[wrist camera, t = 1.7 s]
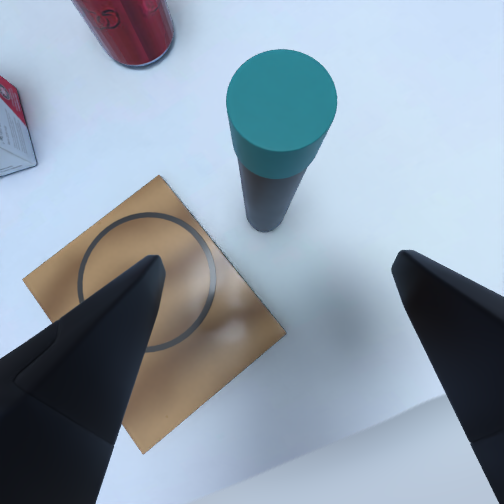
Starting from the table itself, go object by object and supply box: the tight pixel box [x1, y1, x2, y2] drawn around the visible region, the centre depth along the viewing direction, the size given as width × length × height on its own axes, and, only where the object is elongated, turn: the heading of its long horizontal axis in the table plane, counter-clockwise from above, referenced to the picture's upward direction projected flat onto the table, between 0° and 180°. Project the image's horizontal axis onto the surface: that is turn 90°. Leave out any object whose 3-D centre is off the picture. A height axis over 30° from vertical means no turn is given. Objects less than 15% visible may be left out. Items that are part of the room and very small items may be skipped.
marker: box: [226, 49, 337, 232], centre depth 14 cm, size 3×3×14 cm
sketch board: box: [22, 175, 286, 454], centre depth 20 cm, size 18×15×1 cm
